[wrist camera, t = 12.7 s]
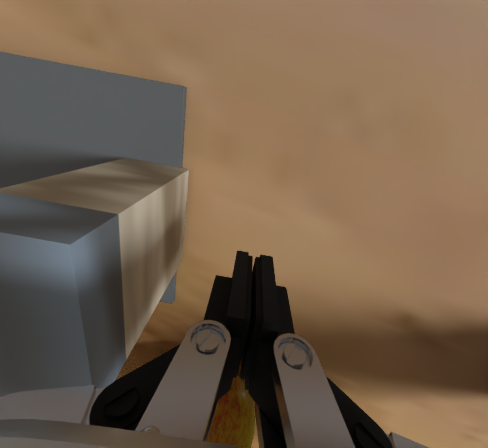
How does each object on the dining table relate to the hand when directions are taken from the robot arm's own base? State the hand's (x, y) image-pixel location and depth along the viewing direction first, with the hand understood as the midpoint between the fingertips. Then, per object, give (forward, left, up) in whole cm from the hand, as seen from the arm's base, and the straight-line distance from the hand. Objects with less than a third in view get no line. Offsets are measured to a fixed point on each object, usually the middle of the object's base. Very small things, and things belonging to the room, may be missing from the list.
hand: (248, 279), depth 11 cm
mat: (+12, 0, -6) cm, 14 cm away
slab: (+7, 0, -6) cm, 9 cm away
